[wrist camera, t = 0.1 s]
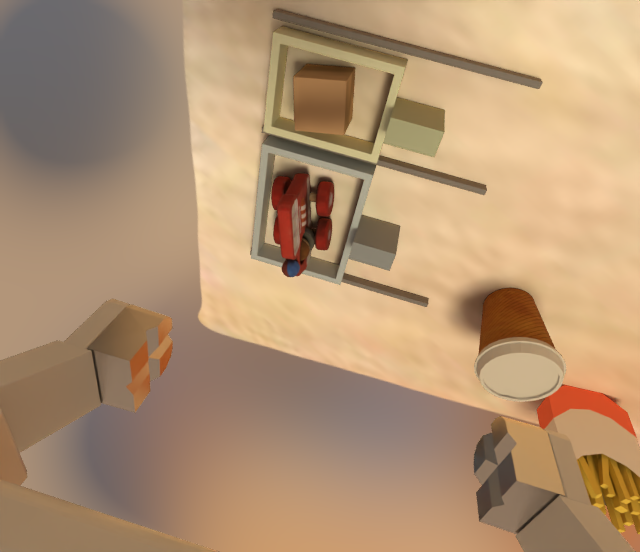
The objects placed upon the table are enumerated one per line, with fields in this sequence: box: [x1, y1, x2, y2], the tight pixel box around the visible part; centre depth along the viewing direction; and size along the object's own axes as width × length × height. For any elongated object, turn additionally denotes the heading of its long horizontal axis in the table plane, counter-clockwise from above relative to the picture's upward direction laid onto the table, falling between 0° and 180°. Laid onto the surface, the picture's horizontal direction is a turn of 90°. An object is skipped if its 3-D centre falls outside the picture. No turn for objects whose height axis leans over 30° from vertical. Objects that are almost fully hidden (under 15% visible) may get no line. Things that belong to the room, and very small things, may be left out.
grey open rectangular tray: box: [251, 135, 400, 285], centre depth 51 cm, size 17×18×6 cm
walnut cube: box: [293, 64, 355, 135], centre depth 42 cm, size 5×5×5 cm
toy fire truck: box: [271, 173, 334, 277], centre depth 50 cm, size 7×12×10 cm, turn 179°
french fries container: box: [537, 385, 640, 534], centre depth 57 cm, size 5×11×18 cm, turn 86°
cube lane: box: [263, 26, 445, 163], centre depth 41 cm, size 10×18×6 cm, turn 80°
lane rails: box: [250, 9, 542, 307], centre depth 49 cm, size 30×26×1 cm
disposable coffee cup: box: [474, 288, 566, 402], centre depth 51 cm, size 10×10×12 cm
